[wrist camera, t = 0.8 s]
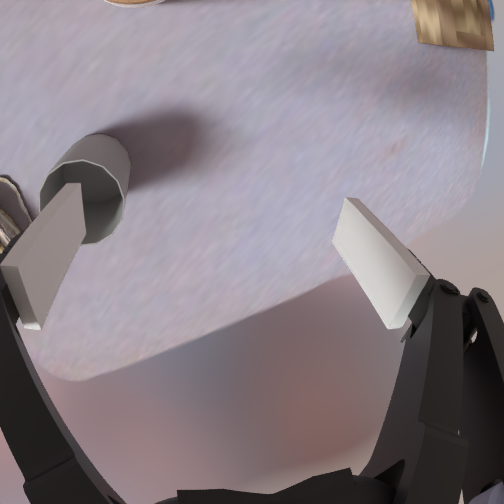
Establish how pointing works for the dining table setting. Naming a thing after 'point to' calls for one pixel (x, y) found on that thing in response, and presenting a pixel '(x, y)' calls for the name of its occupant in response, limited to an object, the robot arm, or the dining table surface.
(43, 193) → the cup
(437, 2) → the open wooden box
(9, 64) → the dining table surface
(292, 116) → the dining table surface
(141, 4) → the lidded jar
